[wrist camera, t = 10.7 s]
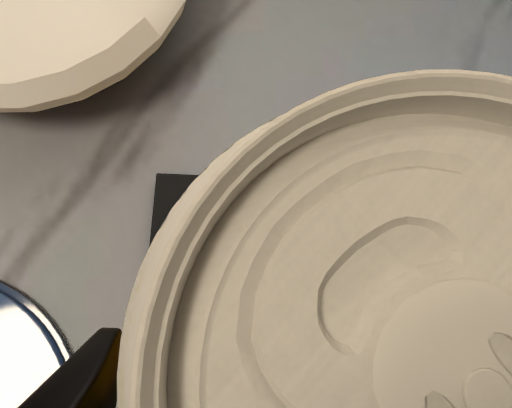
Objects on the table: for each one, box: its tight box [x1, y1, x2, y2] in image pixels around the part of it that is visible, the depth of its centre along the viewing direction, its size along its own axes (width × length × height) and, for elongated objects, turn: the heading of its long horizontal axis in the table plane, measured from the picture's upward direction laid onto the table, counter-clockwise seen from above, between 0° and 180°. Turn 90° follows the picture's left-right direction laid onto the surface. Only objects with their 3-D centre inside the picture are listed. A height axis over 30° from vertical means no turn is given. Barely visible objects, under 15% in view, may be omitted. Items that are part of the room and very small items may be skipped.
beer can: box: [117, 70, 512, 408], centre depth 11 cm, size 6×6×15 cm
